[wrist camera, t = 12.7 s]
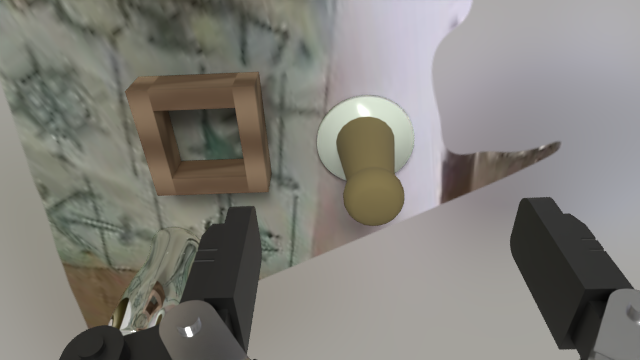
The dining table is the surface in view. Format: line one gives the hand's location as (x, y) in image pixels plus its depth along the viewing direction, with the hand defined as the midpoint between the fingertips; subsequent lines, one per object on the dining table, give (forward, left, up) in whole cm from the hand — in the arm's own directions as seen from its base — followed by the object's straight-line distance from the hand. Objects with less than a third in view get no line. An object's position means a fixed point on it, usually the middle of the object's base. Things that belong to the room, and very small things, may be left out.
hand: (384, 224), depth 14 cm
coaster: (+14, +2, -30) cm, 33 cm away
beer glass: (+28, -21, -30) cm, 46 cm away
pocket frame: (+12, -14, -30) cm, 35 cm away
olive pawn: (+14, +2, -30) cm, 33 cm away
